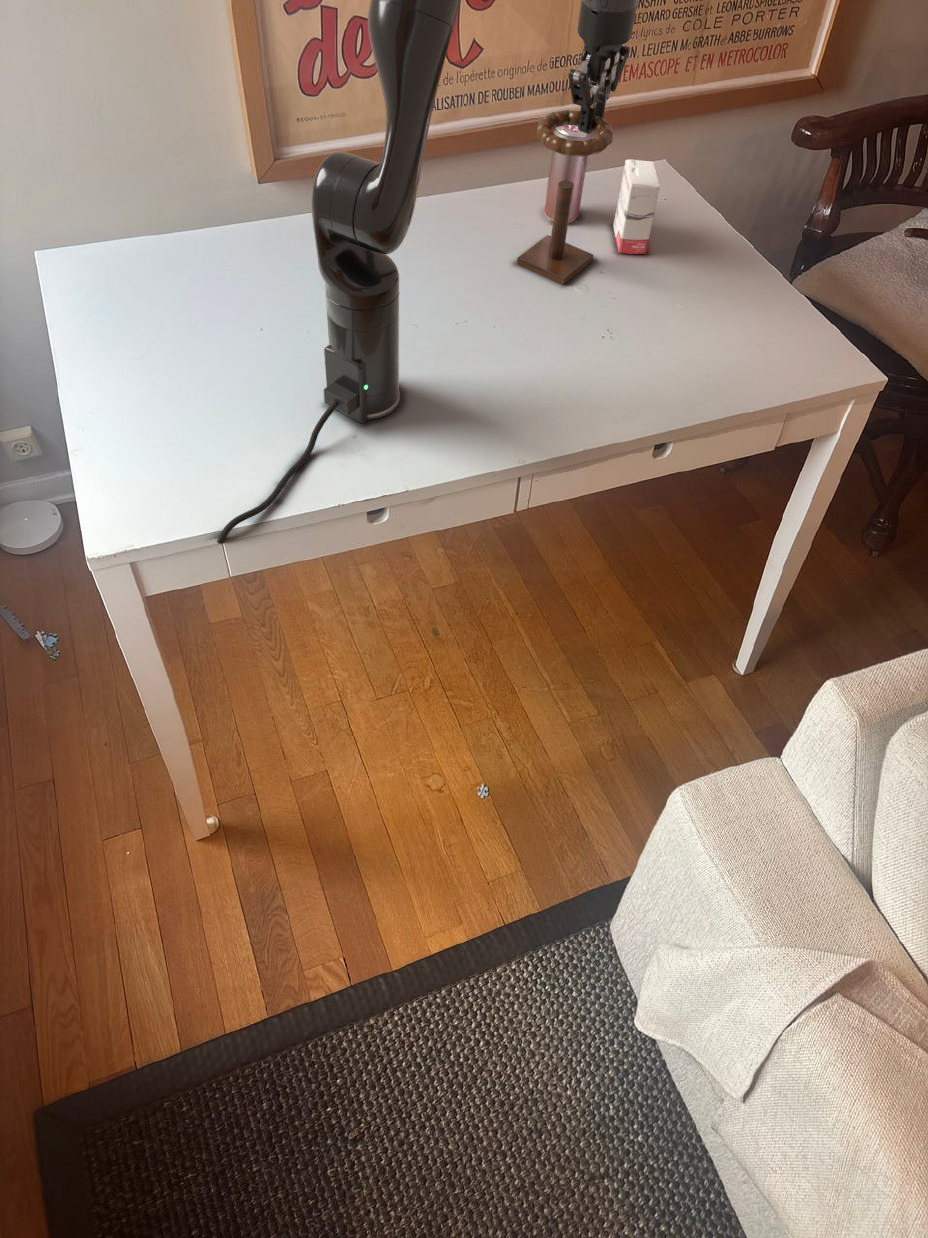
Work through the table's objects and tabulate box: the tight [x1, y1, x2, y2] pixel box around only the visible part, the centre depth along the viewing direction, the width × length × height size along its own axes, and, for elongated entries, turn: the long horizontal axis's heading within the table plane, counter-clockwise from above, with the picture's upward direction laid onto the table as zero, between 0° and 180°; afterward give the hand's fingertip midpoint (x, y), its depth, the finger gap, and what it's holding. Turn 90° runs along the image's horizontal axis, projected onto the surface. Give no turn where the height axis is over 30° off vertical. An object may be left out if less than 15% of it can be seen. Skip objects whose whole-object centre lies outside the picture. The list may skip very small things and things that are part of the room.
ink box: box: [612, 159, 661, 255], centre depth 158 cm, size 9×5×12 cm, turn 0°
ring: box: [536, 109, 614, 157], centre depth 140 cm, size 11×11×2 cm
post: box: [516, 181, 594, 285], centre depth 152 cm, size 9×9×13 cm
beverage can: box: [544, 125, 592, 224], centre depth 160 cm, size 6×6×15 cm
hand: (589, 127), depth 143 cm, fingers closed on ring, 2 cm apart
